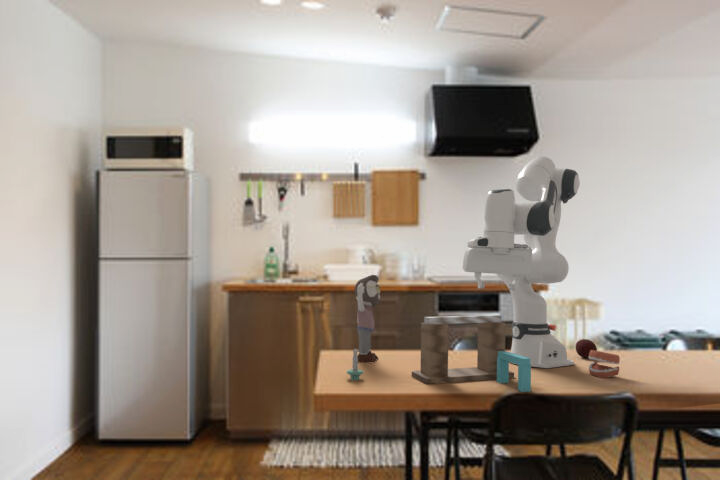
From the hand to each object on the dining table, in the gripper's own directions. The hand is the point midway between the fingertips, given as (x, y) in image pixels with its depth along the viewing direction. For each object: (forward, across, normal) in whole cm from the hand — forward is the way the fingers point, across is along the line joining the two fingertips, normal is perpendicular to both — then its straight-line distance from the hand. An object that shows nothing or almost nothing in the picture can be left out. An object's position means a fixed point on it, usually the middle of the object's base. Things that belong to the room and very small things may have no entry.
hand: (496, 289), depth 152 cm
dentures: (+26, -39, -10) cm, 47 cm away
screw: (+29, +40, -6) cm, 50 cm away
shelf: (+27, +6, -8) cm, 29 cm away
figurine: (+28, +34, -32) cm, 55 cm away
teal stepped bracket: (+27, -5, +3) cm, 28 cm away
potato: (+25, -49, -37) cm, 66 cm away
